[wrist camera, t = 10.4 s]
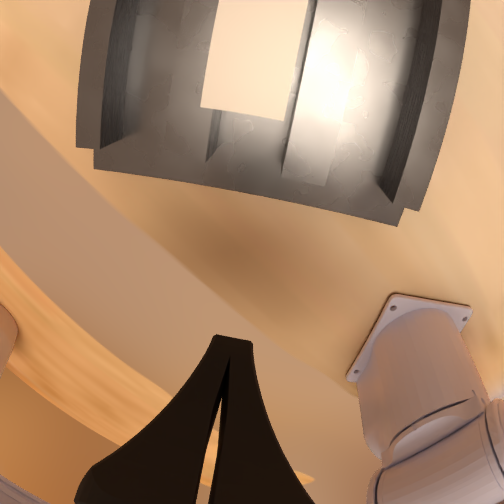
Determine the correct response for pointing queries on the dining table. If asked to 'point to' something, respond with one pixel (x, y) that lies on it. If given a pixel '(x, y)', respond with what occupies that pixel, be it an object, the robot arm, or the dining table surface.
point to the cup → (6, 336)
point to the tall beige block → (253, 56)
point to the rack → (298, 106)
